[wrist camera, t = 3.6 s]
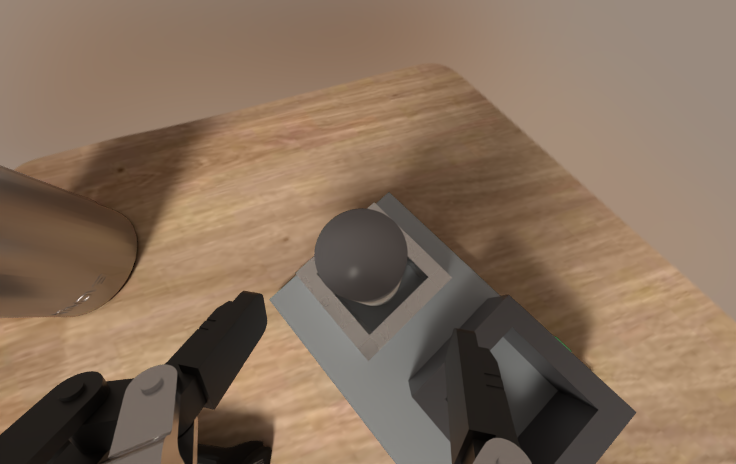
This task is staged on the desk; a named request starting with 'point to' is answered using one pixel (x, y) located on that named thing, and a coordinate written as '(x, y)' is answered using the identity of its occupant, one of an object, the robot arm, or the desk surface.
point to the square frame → (393, 323)
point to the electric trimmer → (220, 454)
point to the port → (558, 366)
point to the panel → (408, 350)
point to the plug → (362, 256)
